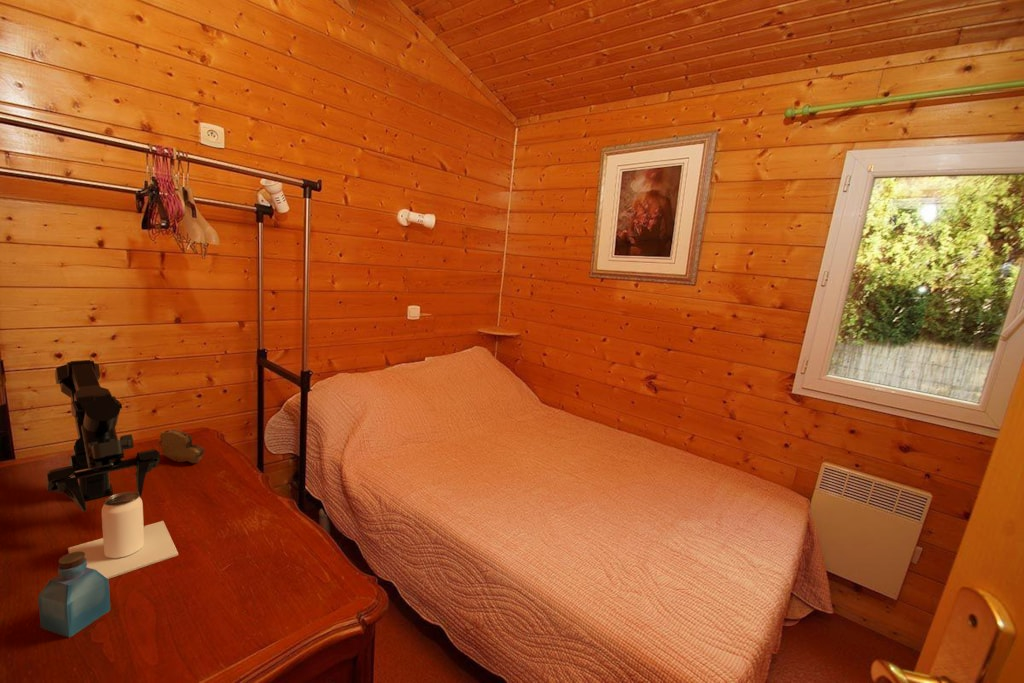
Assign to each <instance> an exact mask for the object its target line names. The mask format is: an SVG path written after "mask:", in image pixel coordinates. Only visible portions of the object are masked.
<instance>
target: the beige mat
mask: <svg viewBox="0 0 1024 683" xmlns="http://www.w3.org/2000/svg"><path fill="white" fill-rule="evenodd" d="M67 550H68V554H69V553H73V552H79V551H81V552H85V557H84V558H86V559H87V566H86V567H87V568H91V569H95V570H97V571H98V572H99V573H101V574H102V575H103V576H105V577H106V578H107V579H108V580H109V579H111V578H114V577H118V576H121V575H124V574H127V573H129V572H134V571H135V570H138V569H141V568H145V567H147V566H151V565H153V564H156V563H158V562H159V563H160V562H163V561H166V560H169V559H171V558H174V557H177V556H179V552H178V549H177V548H176V545H175V543H174V541H173V539H172V537H171V534H170V532H169V530H168V528H167V526H166V523H165V522H164V520H160V521H158V522H154V523H151V524H150V523H149V524H147V525H144V546H143V547H142V548H141V549H140V550H139V551H138V552H136V553H134V554H132V555H130V556H127V557H123V558H118V559H111V558H108V557H106V556H105V555H104V544H103V537H101V538H99V539H95V540H92V541H87V542H84V543H80V544H78V545H74V546H70V547H67Z"/></svg>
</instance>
